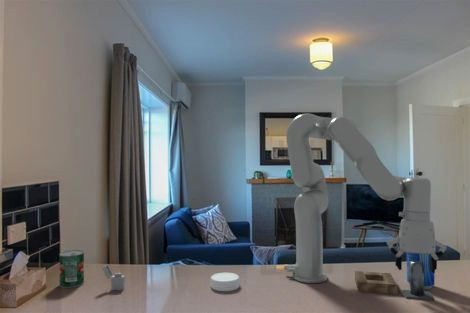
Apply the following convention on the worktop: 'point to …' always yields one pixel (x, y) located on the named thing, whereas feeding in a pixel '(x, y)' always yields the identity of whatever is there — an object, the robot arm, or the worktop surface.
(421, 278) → the rod
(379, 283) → the pocket block
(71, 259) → the canned tomato
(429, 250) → the robot arm
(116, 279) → the lighter
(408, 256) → the beer can
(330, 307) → the worktop surface
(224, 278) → the white cheese wheel
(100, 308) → the worktop surface
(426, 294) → the mat
